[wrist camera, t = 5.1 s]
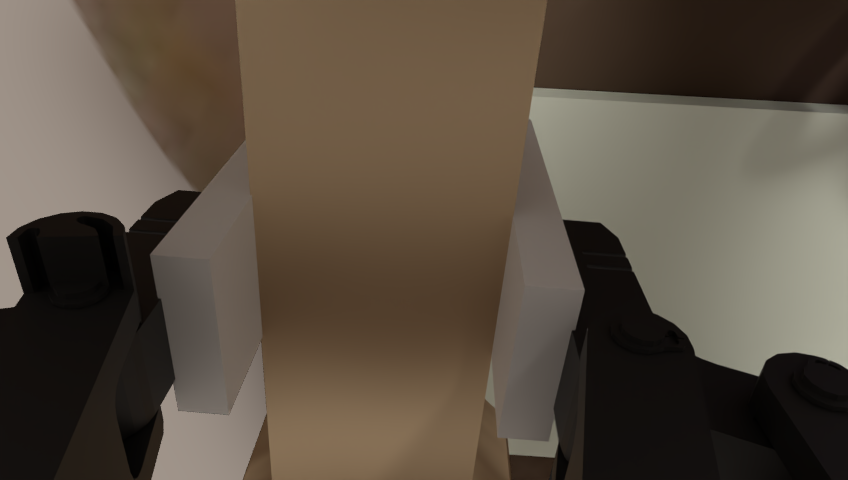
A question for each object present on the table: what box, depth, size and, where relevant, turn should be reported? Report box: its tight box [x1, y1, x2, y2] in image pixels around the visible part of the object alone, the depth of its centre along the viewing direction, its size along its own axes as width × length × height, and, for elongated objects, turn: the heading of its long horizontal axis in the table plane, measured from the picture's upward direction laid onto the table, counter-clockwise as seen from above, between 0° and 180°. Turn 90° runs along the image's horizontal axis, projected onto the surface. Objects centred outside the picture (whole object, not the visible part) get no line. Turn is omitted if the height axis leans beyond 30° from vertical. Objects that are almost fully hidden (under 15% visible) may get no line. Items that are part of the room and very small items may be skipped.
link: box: [235, 0, 547, 480], centre depth 14 cm, size 18×7×5 cm, turn 176°
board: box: [485, 88, 848, 458], centre depth 29 cm, size 20×22×1 cm
